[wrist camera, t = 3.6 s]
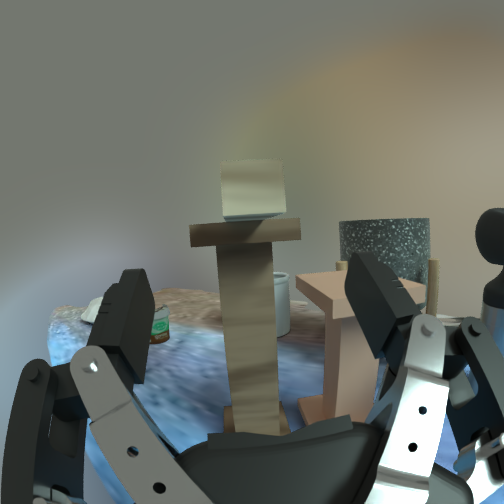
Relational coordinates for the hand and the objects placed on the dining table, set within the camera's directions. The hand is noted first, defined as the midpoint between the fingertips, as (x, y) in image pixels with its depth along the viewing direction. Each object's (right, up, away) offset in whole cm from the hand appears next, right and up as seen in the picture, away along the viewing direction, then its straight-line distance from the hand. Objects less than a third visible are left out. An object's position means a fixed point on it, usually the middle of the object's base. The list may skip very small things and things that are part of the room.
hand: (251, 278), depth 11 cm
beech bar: (-1, +4, +17) cm, 18 cm away
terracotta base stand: (+15, -26, +26) cm, 40 cm away
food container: (-28, -26, +68) cm, 78 cm away
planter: (+33, -24, +51) cm, 65 cm away
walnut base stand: (+1, -27, +25) cm, 37 cm away
